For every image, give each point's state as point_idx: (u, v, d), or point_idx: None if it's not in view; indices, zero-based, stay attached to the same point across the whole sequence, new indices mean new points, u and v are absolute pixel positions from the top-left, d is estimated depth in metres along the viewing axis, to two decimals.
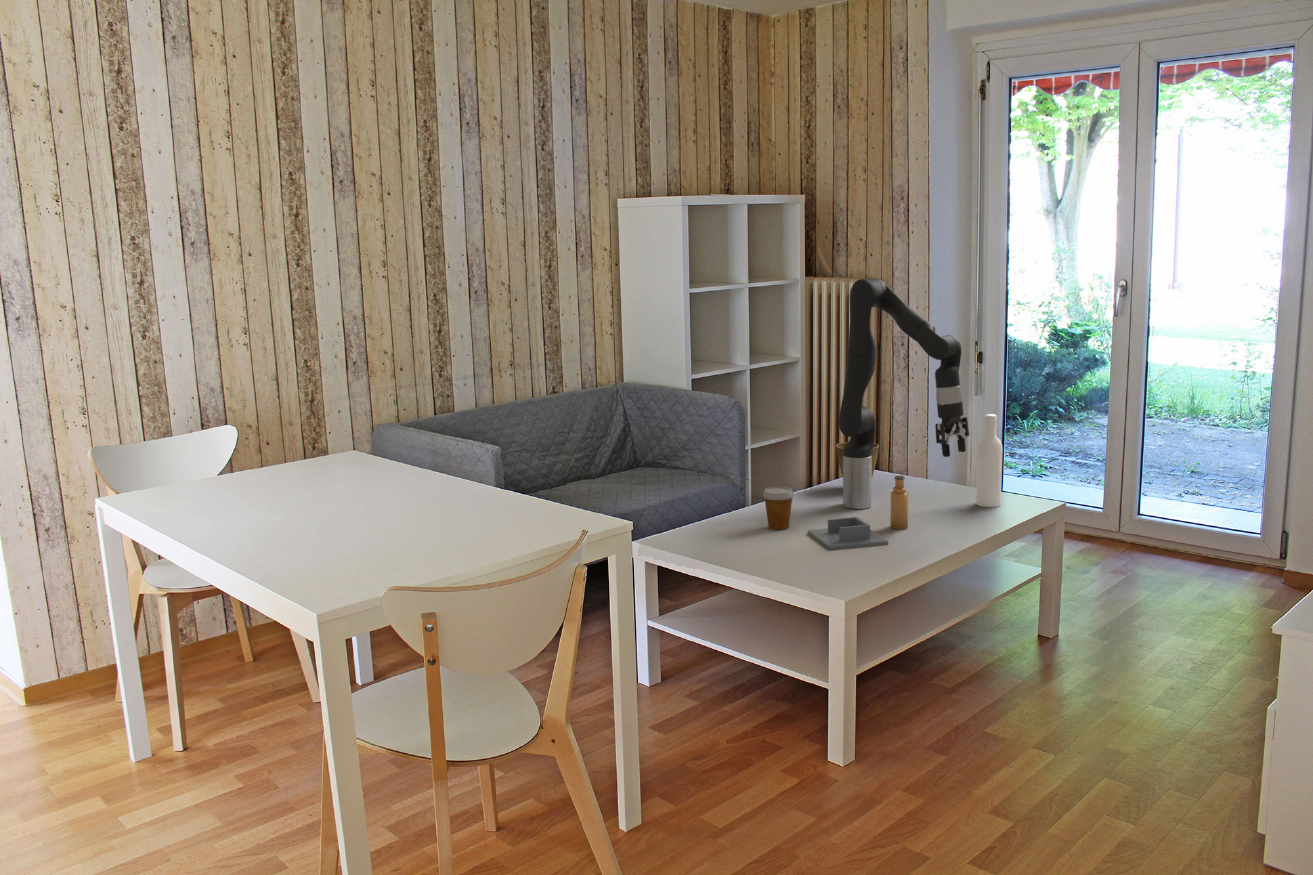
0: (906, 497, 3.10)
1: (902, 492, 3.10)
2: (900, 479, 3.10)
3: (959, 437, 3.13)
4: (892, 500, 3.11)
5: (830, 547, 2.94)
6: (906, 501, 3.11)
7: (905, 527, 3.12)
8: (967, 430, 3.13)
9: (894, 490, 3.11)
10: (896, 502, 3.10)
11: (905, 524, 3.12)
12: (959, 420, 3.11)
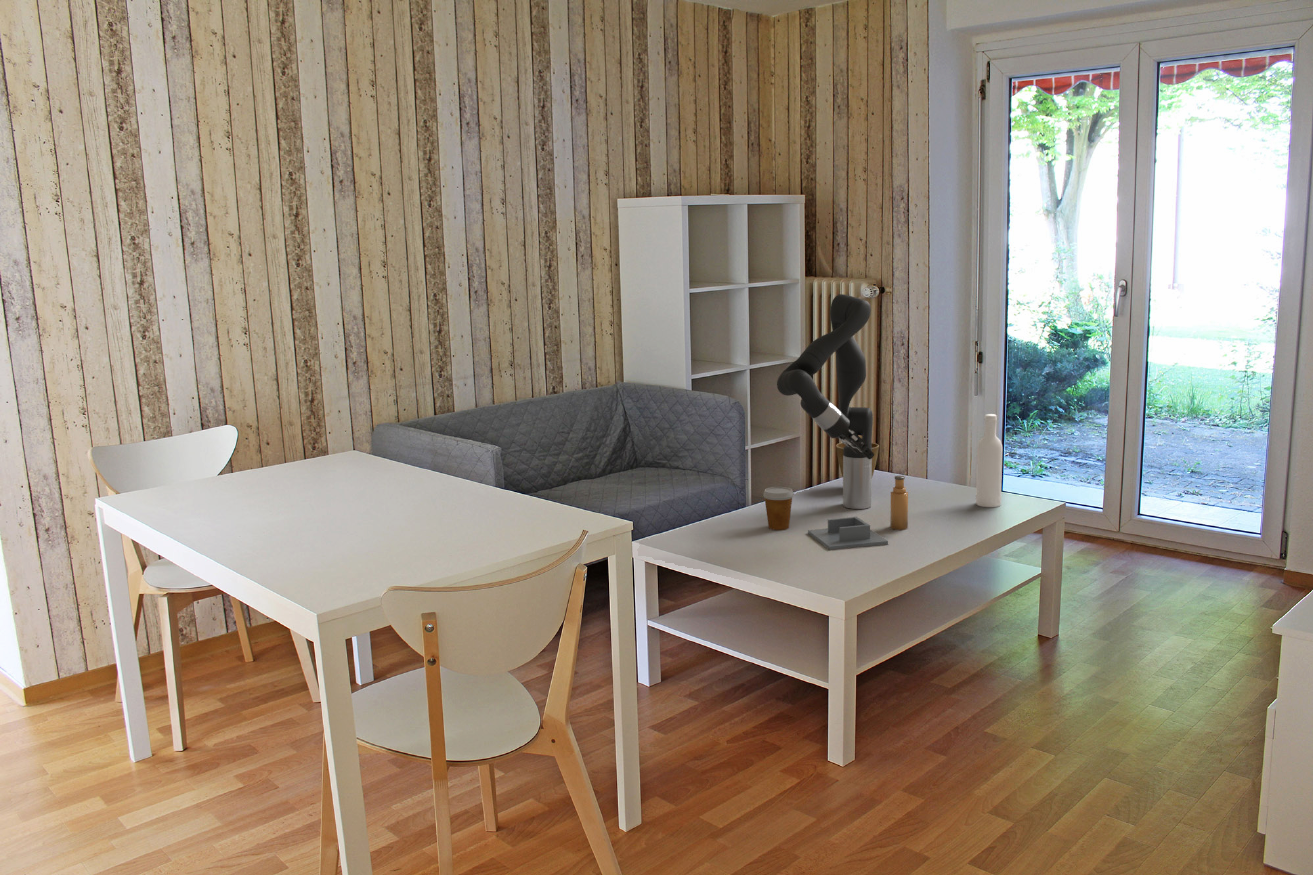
0: (906, 497, 3.10)
1: (902, 492, 3.10)
2: (900, 479, 3.10)
3: None
4: (892, 500, 3.11)
5: (830, 547, 2.94)
6: (906, 501, 3.11)
7: (905, 527, 3.12)
8: (858, 447, 2.99)
9: (894, 490, 3.11)
10: (896, 502, 3.10)
11: (905, 524, 3.12)
12: (845, 437, 3.02)
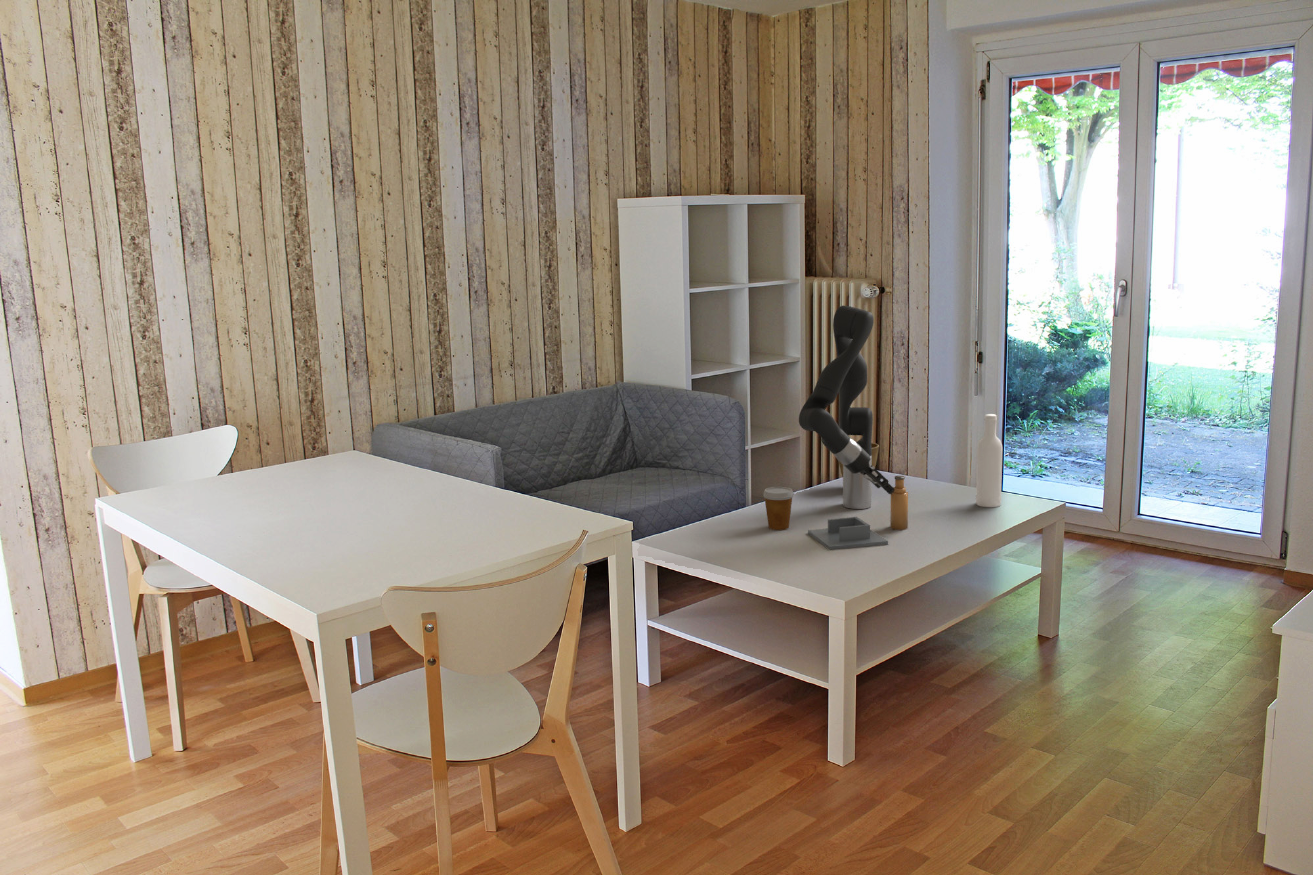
0: (906, 497, 3.10)
1: (902, 492, 3.10)
2: (900, 479, 3.10)
3: None
4: (892, 500, 3.11)
5: (830, 547, 2.94)
6: (906, 501, 3.11)
7: (905, 527, 3.12)
8: (878, 483, 3.03)
9: None
10: (896, 502, 3.10)
11: (905, 524, 3.12)
12: (866, 472, 3.06)
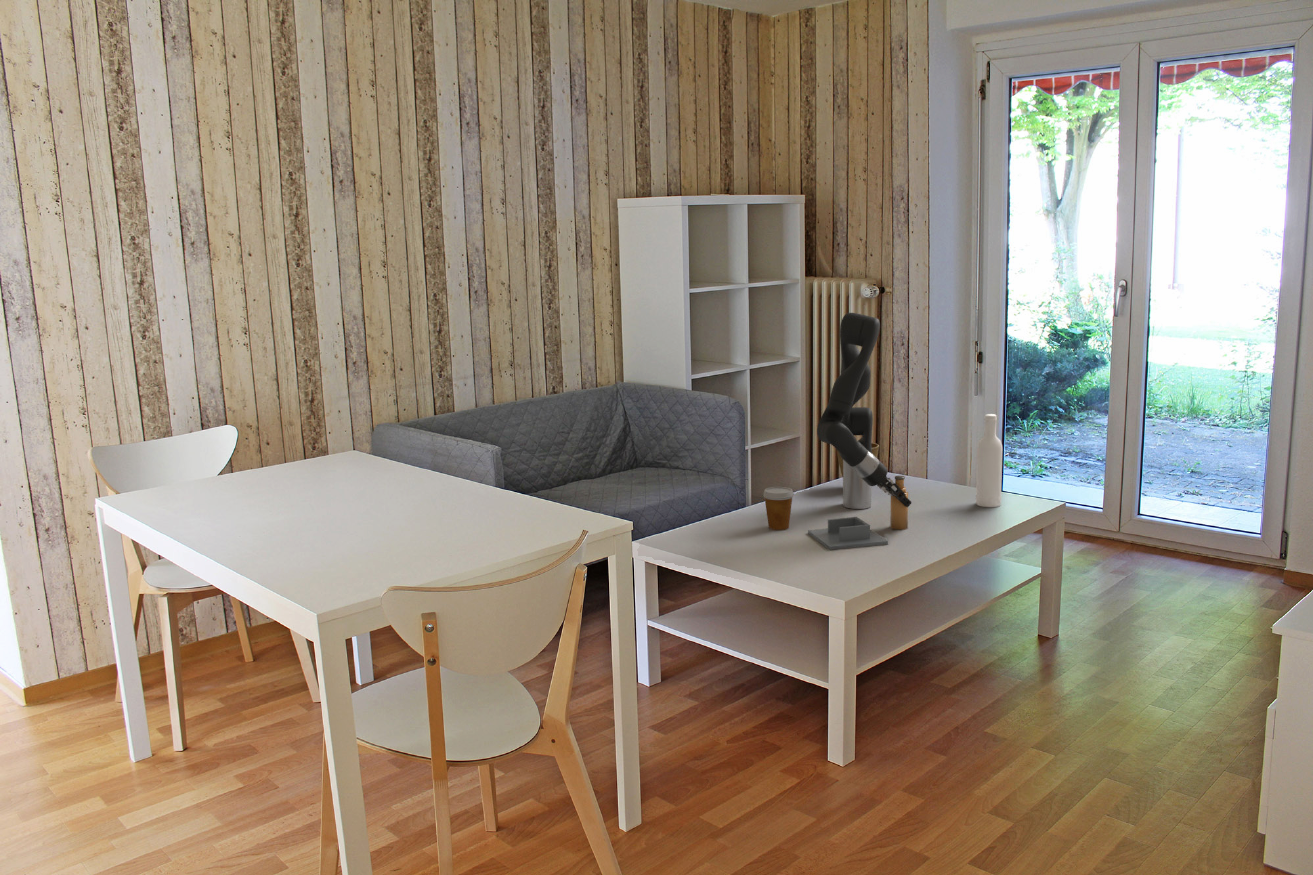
0: None
1: None
2: (900, 479, 3.10)
3: None
4: (892, 500, 3.11)
5: (830, 547, 2.94)
6: None
7: (905, 527, 3.12)
8: (896, 496, 3.06)
9: None
10: (896, 502, 3.10)
11: (905, 524, 3.12)
12: (883, 485, 3.07)
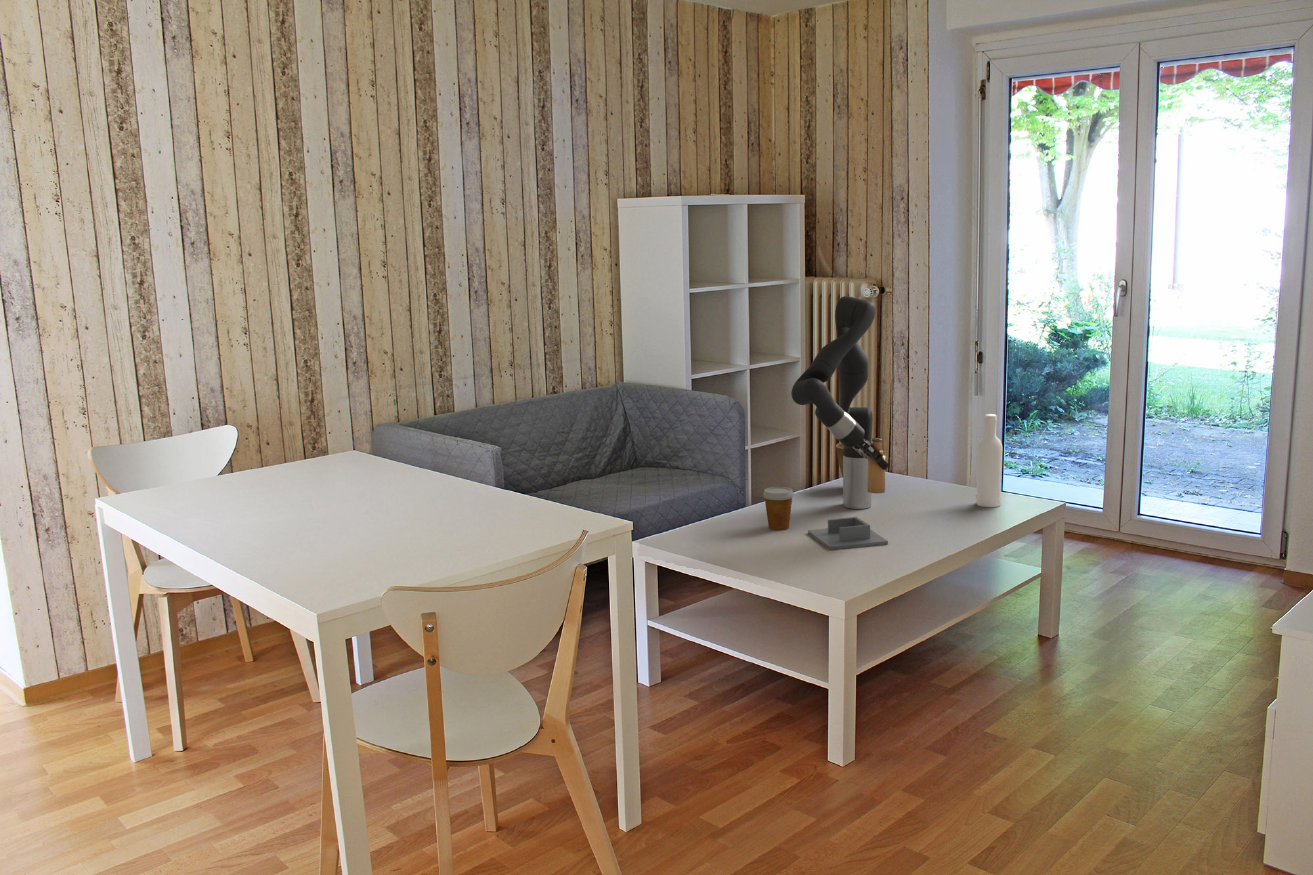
0: None
1: None
2: (877, 441, 3.02)
3: None
4: (869, 463, 3.04)
5: (830, 547, 2.94)
6: None
7: (882, 491, 3.04)
8: (873, 458, 2.99)
9: None
10: (873, 464, 3.03)
11: (882, 488, 3.04)
12: (860, 446, 3.00)
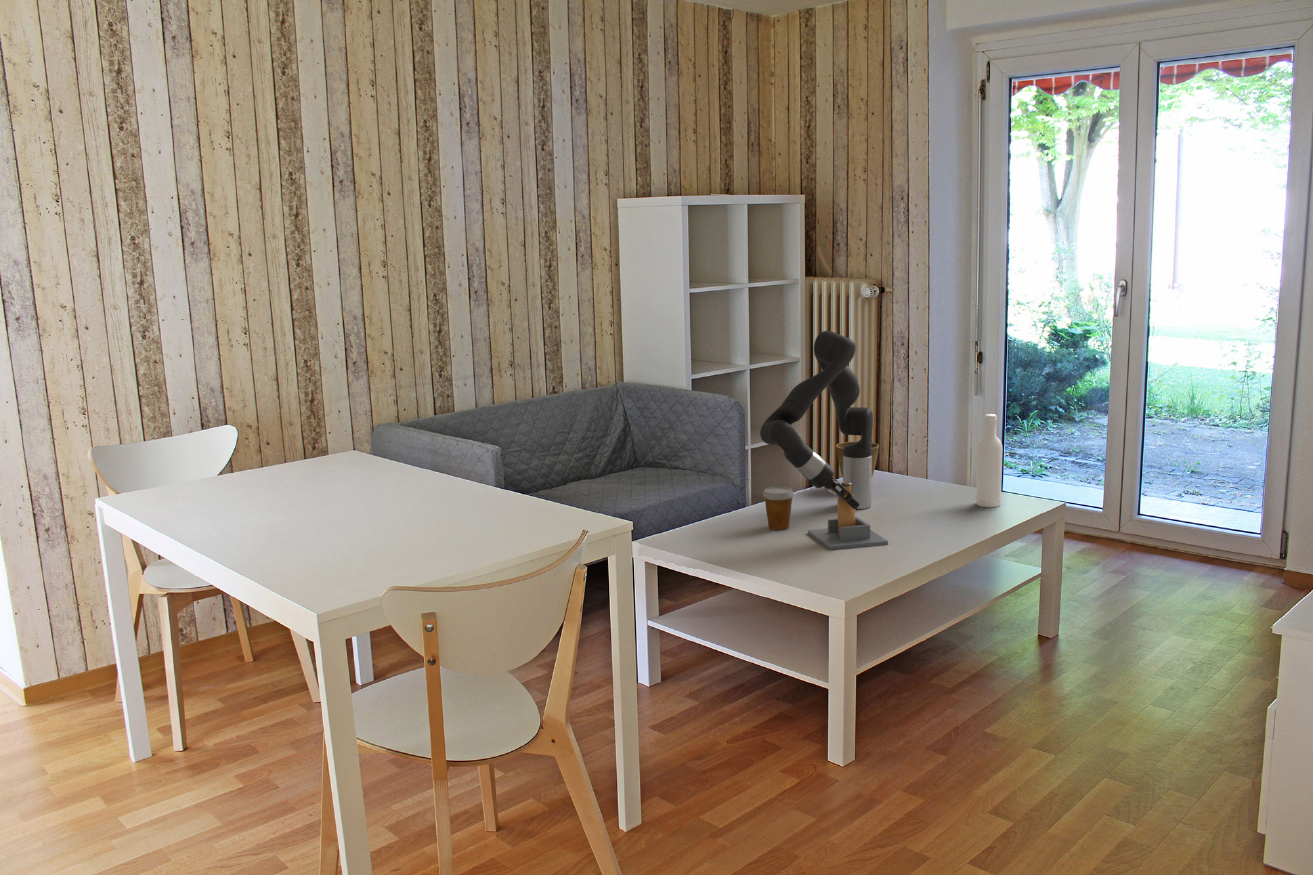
0: None
1: None
2: (847, 485, 3.00)
3: None
4: (839, 507, 3.01)
5: (830, 547, 2.94)
6: None
7: None
8: (842, 498, 2.94)
9: None
10: (842, 509, 3.00)
11: None
12: (829, 487, 2.97)
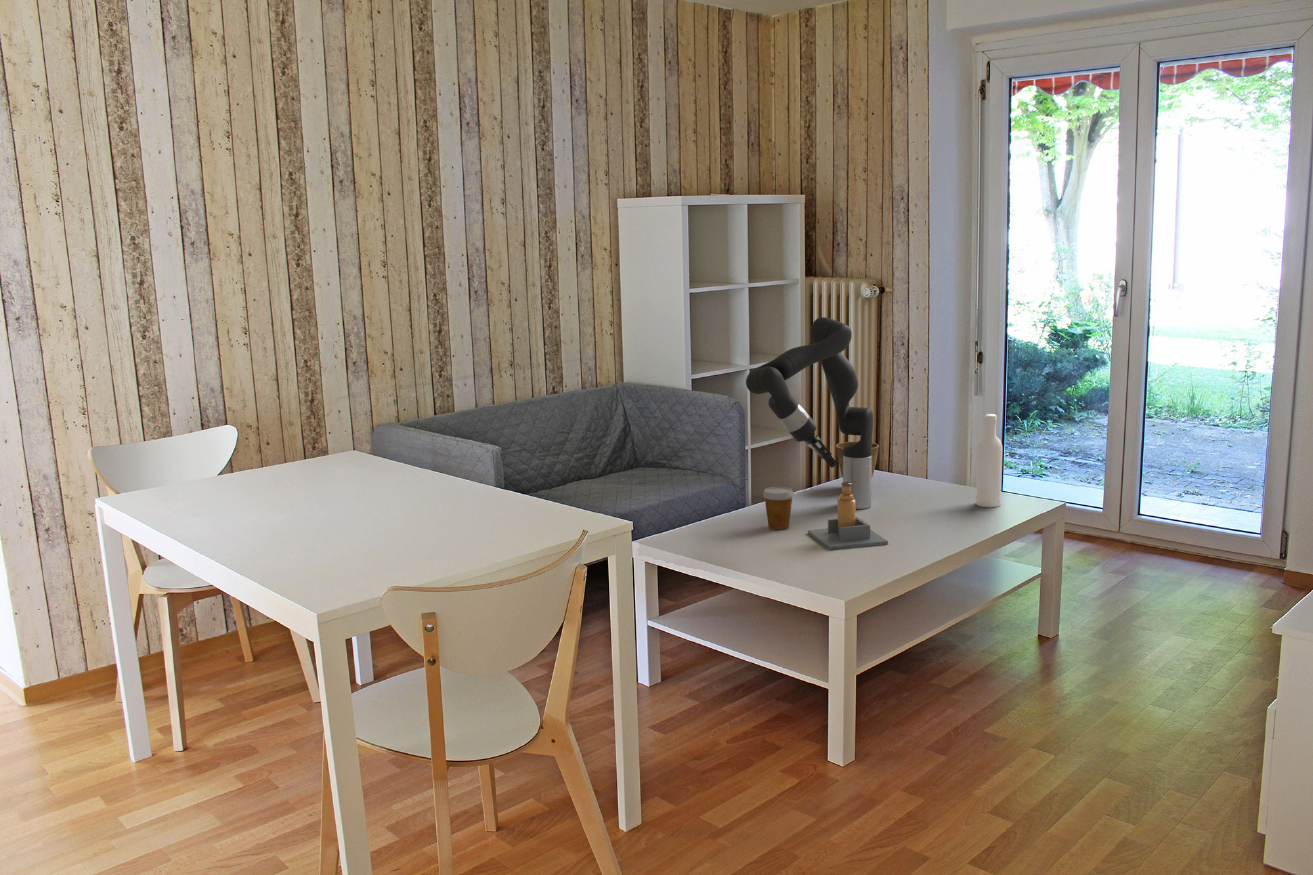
0: (853, 504, 3.00)
1: (849, 499, 3.00)
2: (847, 486, 3.00)
3: None
4: (839, 507, 3.01)
5: (830, 547, 2.94)
6: (853, 508, 3.00)
7: None
8: (821, 455, 2.90)
9: (841, 497, 3.01)
10: (842, 509, 3.00)
11: None
12: (809, 442, 2.92)
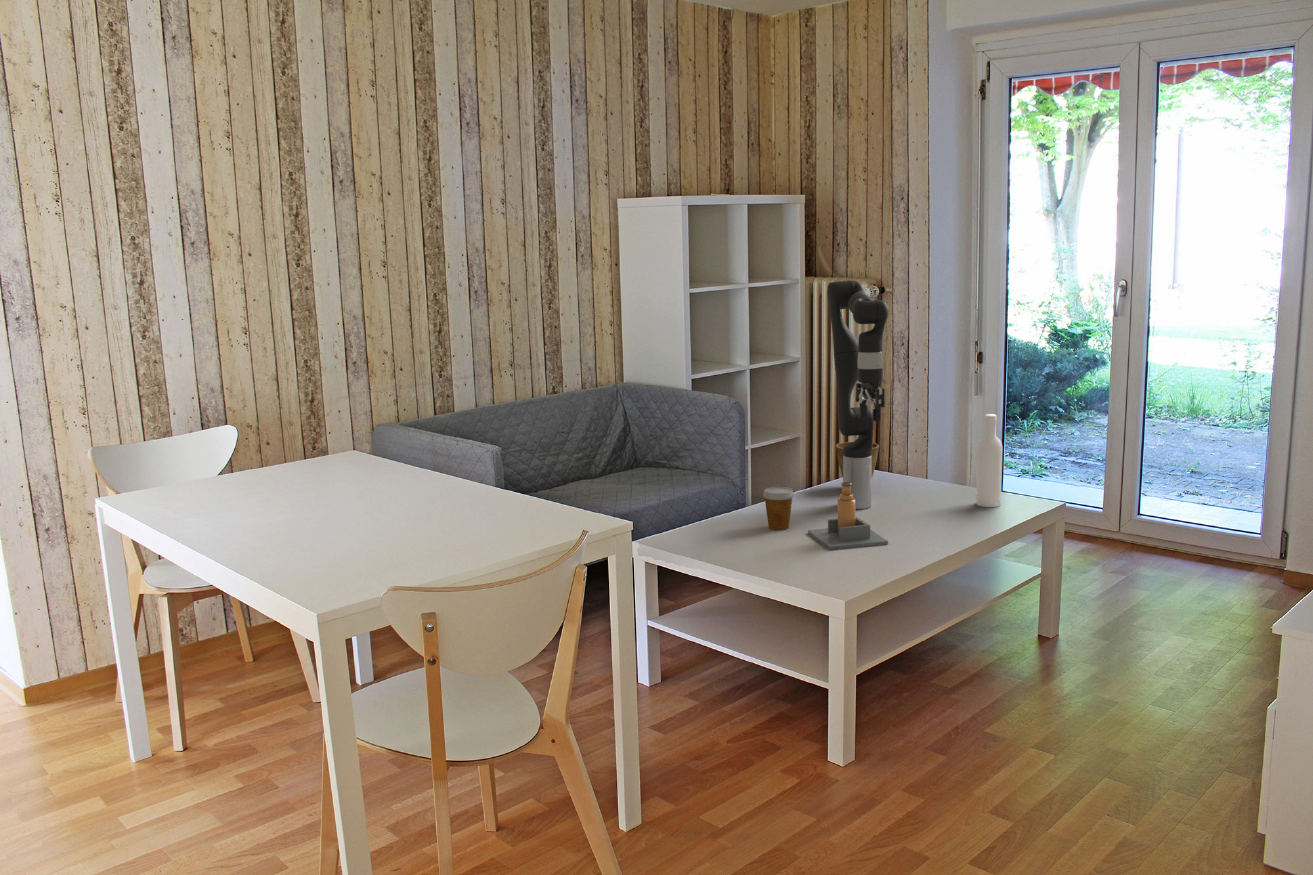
0: (853, 504, 3.00)
1: (849, 499, 3.00)
2: (847, 486, 3.00)
3: None
4: (839, 507, 3.01)
5: (830, 547, 2.94)
6: (853, 508, 3.00)
7: None
8: (876, 401, 3.06)
9: (841, 497, 3.01)
10: (842, 509, 3.00)
11: None
12: (870, 388, 3.09)
